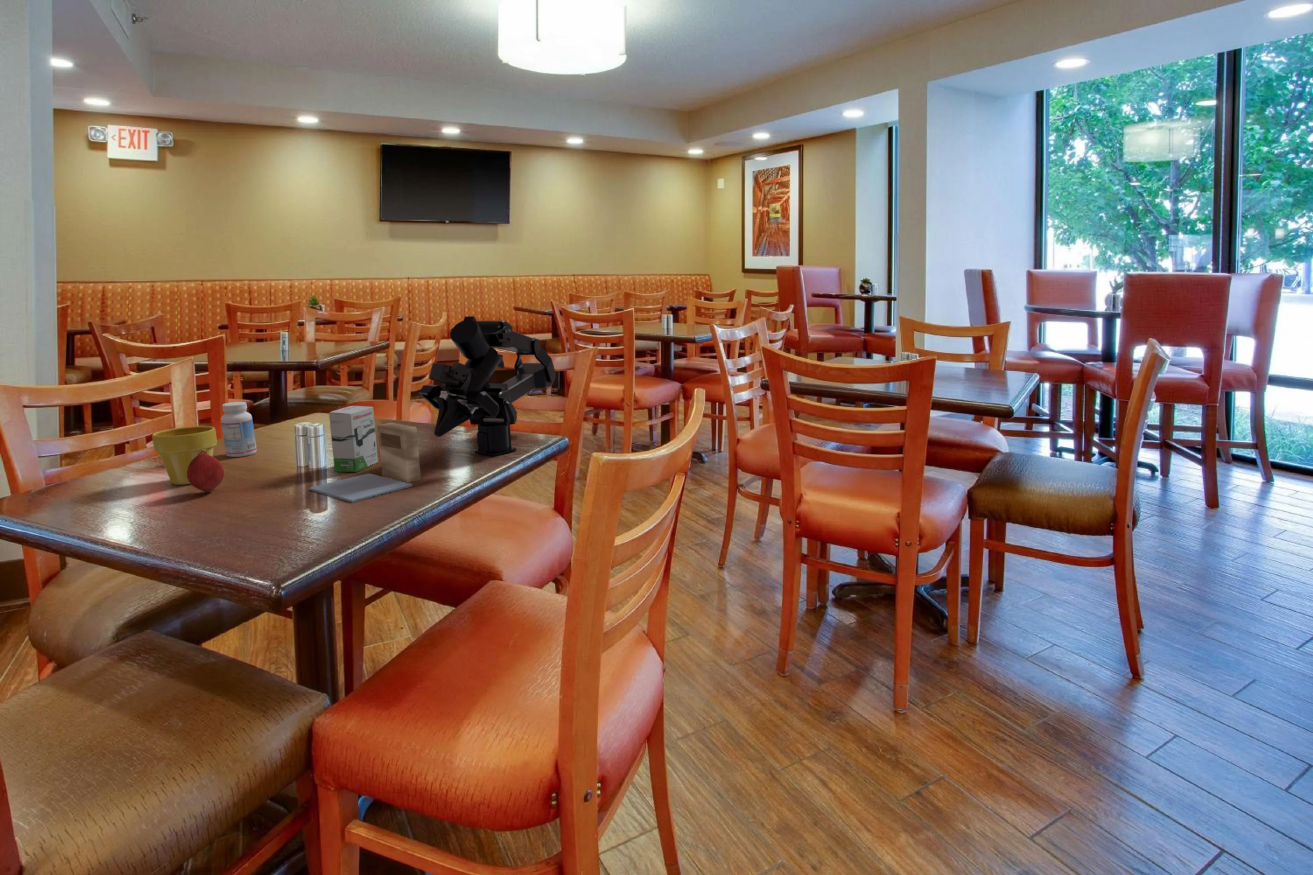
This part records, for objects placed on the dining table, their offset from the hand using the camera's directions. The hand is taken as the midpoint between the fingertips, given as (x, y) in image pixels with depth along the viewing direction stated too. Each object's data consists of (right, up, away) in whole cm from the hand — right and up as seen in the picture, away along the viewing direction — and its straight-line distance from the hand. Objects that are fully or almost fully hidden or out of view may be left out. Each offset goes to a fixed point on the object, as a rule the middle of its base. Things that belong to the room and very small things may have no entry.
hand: (436, 435), depth 157 cm
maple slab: (-5, -8, -5) cm, 11 cm away
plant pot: (-46, -9, -3) cm, 47 cm away
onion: (-38, -11, -12) cm, 41 cm away
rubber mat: (-10, -10, -12) cm, 18 cm away
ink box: (-17, -6, +4) cm, 19 cm away
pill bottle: (-47, -4, +17) cm, 50 cm away
